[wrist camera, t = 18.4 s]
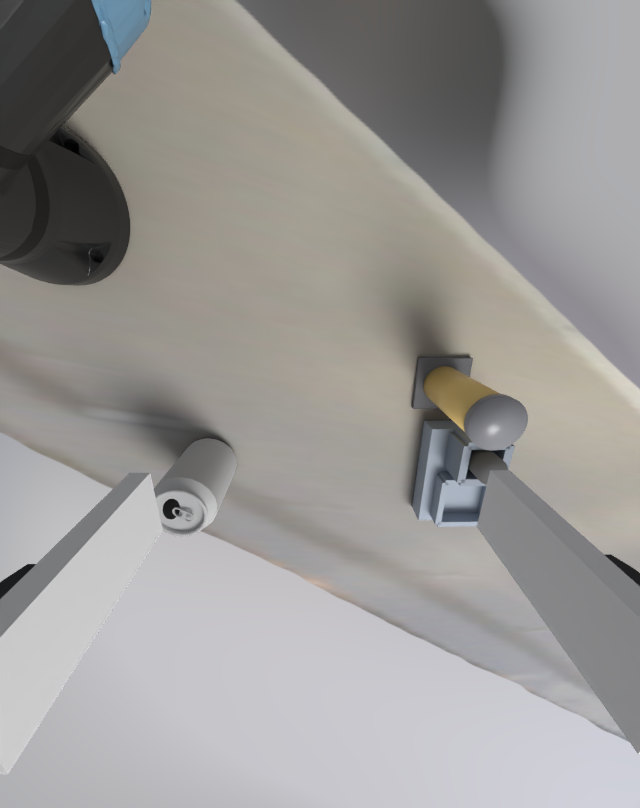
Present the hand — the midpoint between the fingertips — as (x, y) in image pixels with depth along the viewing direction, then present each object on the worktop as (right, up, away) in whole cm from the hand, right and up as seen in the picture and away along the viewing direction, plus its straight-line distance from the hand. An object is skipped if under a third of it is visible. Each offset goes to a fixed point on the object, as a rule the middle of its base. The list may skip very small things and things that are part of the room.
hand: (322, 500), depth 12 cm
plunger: (+20, -3, +28) cm, 35 cm away
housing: (+20, -6, +33) cm, 39 cm away
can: (-16, -4, +32) cm, 36 cm away
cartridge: (+16, +6, +28) cm, 33 cm away
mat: (+16, +7, +29) cm, 34 cm away
